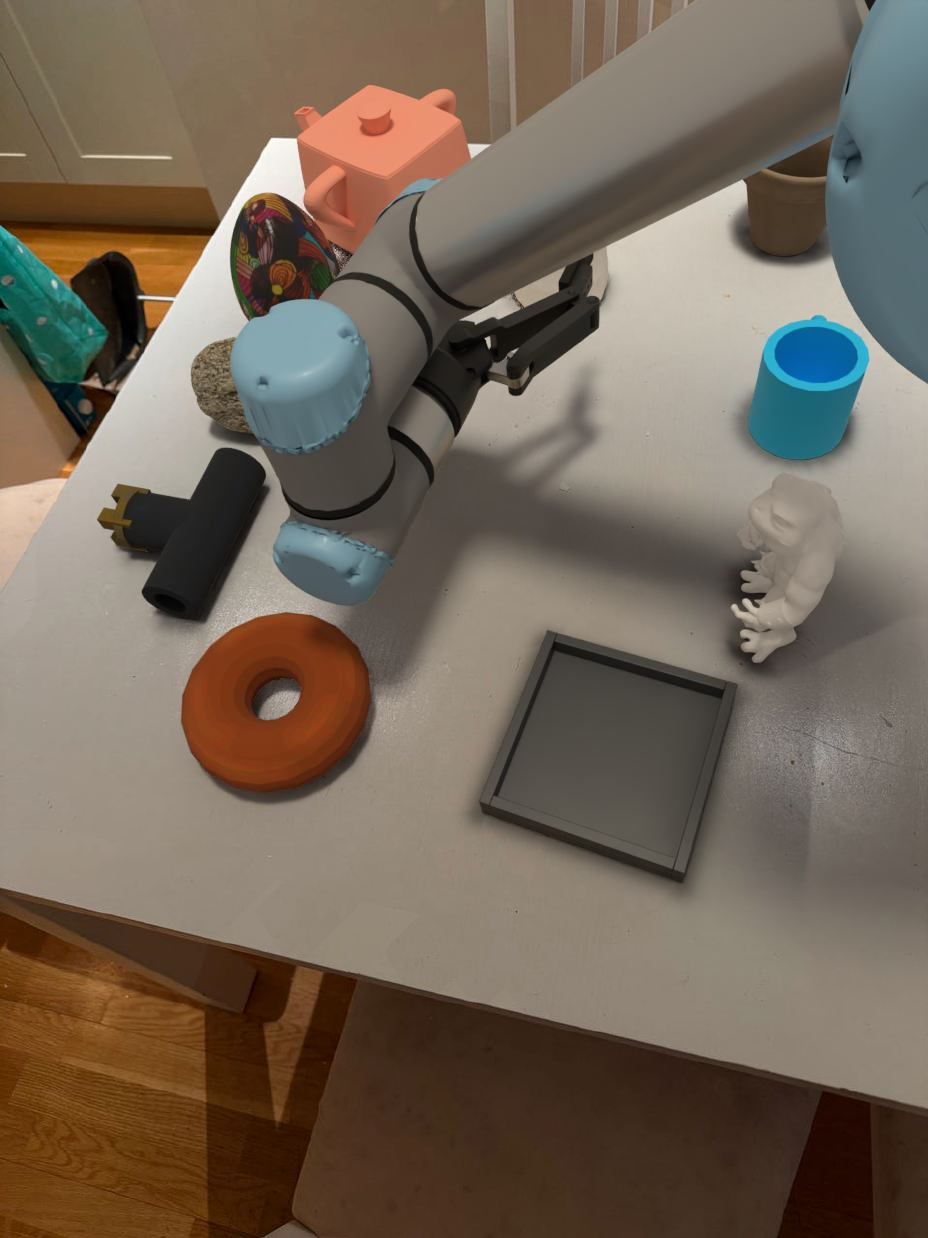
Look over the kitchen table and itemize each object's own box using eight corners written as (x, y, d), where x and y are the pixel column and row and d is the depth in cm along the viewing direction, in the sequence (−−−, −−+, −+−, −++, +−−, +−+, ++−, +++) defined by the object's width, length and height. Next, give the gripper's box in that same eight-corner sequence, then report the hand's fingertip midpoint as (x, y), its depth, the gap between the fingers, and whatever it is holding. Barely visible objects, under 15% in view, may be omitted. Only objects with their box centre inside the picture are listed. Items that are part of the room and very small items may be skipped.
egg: (236, 352, 93) (179, 225, 80) (288, 286, 97) (242, 155, 84) (323, 375, 89) (278, 246, 76) (372, 305, 94) (337, 173, 81)
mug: (840, 466, 76) (865, 397, 69) (741, 452, 78) (756, 384, 71) (852, 366, 81) (877, 293, 74) (760, 355, 83) (776, 283, 76)
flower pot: (846, 204, 93) (872, 107, 84) (842, 276, 87) (869, 182, 79) (732, 199, 95) (747, 105, 87) (721, 269, 90) (735, 177, 81)
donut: (161, 770, 69) (133, 745, 65) (247, 613, 76) (226, 581, 71) (331, 828, 65) (312, 805, 61) (406, 656, 71) (394, 625, 67)
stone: (297, 452, 84) (264, 374, 76) (206, 441, 87) (164, 364, 78) (319, 404, 87) (289, 323, 79) (230, 394, 89) (191, 315, 81)
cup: (523, 255, 95) (516, 169, 86) (616, 262, 92) (618, 175, 84) (500, 316, 90) (491, 232, 82) (598, 325, 88) (598, 240, 80)
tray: (733, 697, 66) (738, 683, 64) (681, 882, 60) (684, 873, 58) (548, 644, 70) (547, 629, 68) (482, 812, 64) (478, 801, 62)
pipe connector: (62, 567, 74) (141, 432, 81) (92, 600, 78) (164, 470, 85) (185, 592, 71) (256, 450, 78) (208, 624, 76) (273, 488, 83)
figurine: (812, 680, 66) (866, 569, 53) (720, 672, 67) (751, 561, 55) (809, 561, 71) (857, 433, 59) (724, 555, 73) (752, 429, 60)
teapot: (513, 198, 100) (502, 71, 88) (379, 311, 93) (347, 189, 81) (387, 146, 108) (362, 23, 96) (256, 246, 101) (211, 127, 89)
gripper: (279, 416, 72) (386, 248, 81) (573, 484, 65) (654, 292, 74) (249, 344, 65) (369, 171, 75) (572, 412, 58) (660, 211, 67)
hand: (511, 231), depth 74 cm, fingers open, 13 cm apart
